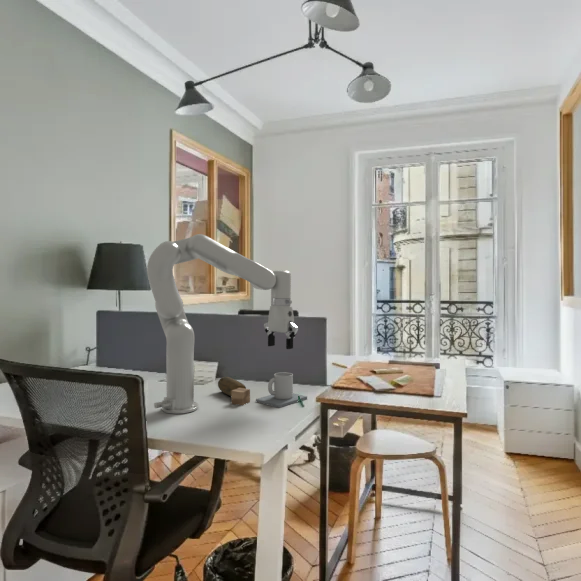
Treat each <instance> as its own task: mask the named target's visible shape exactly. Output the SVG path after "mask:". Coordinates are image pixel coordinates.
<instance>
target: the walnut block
mask: <svg viewBox="0 0 581 581" xmlns="http://www.w3.org/2000/svg"><path fill="white" fill-rule="evenodd" d="M246 403H247V404H249V403H251V389H249V388H246V389H244V388H237V389H235V390H232V397H231V404H232V405H236V404H239V405H238V406H245V405H247V404H246ZM244 404H245V405H244Z"/></svg>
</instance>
